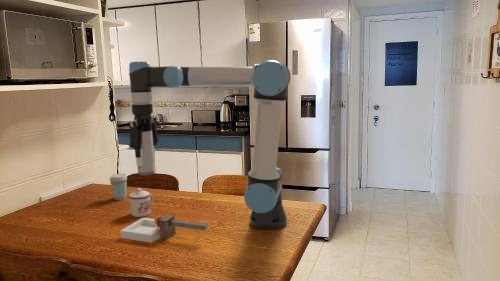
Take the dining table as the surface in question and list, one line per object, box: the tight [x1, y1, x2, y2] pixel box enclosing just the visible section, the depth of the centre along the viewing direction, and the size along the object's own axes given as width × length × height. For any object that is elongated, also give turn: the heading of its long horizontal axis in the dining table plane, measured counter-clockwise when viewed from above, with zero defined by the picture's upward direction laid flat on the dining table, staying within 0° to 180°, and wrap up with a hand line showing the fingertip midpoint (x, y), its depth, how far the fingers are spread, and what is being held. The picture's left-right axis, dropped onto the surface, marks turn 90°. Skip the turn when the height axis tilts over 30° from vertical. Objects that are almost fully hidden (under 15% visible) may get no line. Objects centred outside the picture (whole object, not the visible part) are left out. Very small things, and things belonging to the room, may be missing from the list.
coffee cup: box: [109, 173, 128, 201], centre depth 196 cm, size 8×9×12 cm
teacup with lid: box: [128, 187, 154, 218], centre depth 174 cm, size 12×9×12 cm
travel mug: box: [137, 123, 156, 176], centre depth 148 cm, size 6×7×20 cm
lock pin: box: [154, 215, 208, 231], centre depth 145 cm, size 21×4×4 cm, turn 68°
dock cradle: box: [120, 217, 160, 243], centre depth 152 cm, size 14×14×3 cm
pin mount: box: [159, 214, 176, 240], centre depth 148 cm, size 3×6×7 cm, turn 158°
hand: (146, 163), depth 149 cm, fingers closed on travel mug, 6 cm apart
